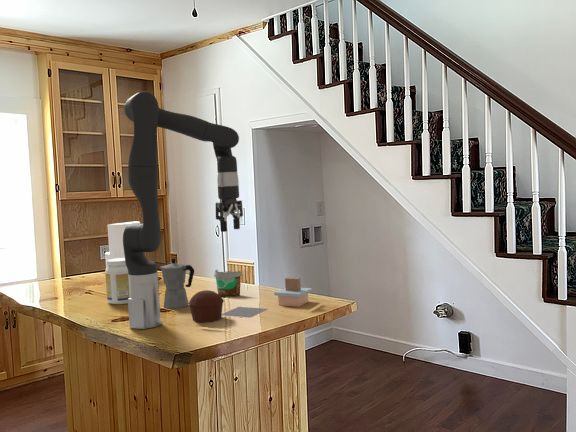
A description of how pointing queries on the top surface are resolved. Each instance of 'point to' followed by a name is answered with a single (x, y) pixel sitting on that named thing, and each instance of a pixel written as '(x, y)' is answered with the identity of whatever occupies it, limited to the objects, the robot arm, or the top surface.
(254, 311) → the mat
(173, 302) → the coffeepot
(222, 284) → the food container
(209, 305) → the muffin
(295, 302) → the dish
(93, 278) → the top surface
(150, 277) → the robot arm
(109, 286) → the supplement tub
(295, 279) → the lid
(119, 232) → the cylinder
